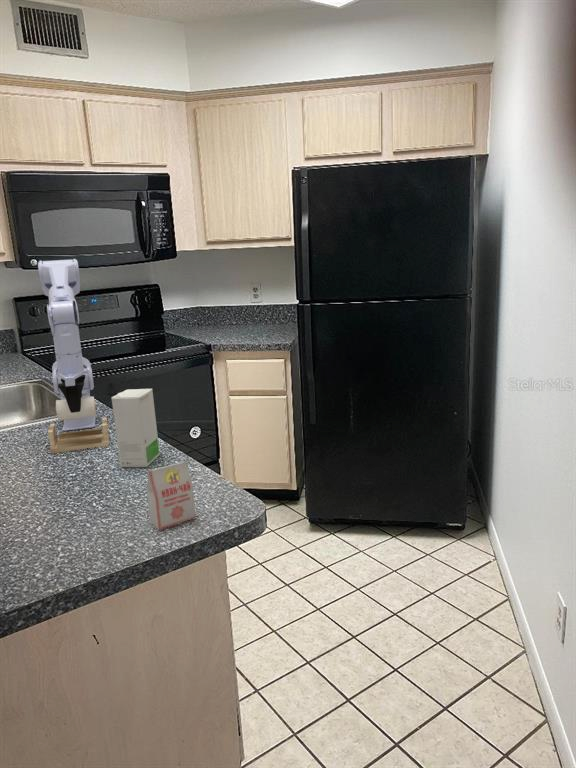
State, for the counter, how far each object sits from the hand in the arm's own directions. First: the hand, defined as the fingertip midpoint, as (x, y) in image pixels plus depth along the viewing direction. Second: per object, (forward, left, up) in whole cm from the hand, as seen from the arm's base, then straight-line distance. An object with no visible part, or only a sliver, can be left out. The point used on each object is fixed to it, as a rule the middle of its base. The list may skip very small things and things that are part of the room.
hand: (76, 408), depth 143 cm
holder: (0, 0, -9) cm, 9 cm away
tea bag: (+50, +17, -9) cm, 53 cm away
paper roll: (0, 0, 0) cm, 0 cm away
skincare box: (+18, +13, -9) cm, 24 cm away
